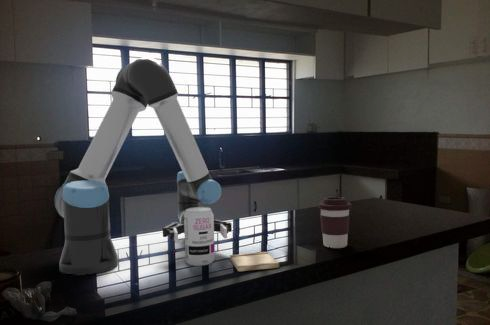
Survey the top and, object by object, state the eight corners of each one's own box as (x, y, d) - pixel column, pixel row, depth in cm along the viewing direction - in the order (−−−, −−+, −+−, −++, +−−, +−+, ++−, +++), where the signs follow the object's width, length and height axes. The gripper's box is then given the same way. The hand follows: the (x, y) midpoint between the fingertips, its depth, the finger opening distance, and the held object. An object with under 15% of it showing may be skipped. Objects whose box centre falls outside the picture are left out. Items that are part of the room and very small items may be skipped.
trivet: (238, 271, 108) (238, 266, 108) (230, 259, 118) (230, 255, 118) (279, 267, 110) (279, 262, 110) (267, 256, 121) (267, 251, 121)
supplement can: (200, 256, 123) (198, 205, 122) (220, 261, 117) (219, 208, 117) (179, 263, 116) (177, 210, 116) (200, 268, 111) (198, 212, 110)
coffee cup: (336, 240, 137) (335, 195, 137) (358, 246, 129) (357, 198, 128) (312, 244, 132) (311, 198, 132) (334, 251, 124) (333, 201, 123)
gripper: (230, 229, 138) (245, 245, 118) (153, 235, 133) (155, 253, 112) (229, 207, 138) (245, 218, 117) (152, 212, 132) (154, 225, 112)
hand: (201, 235), depth 115 cm, fingers open, 13 cm apart
